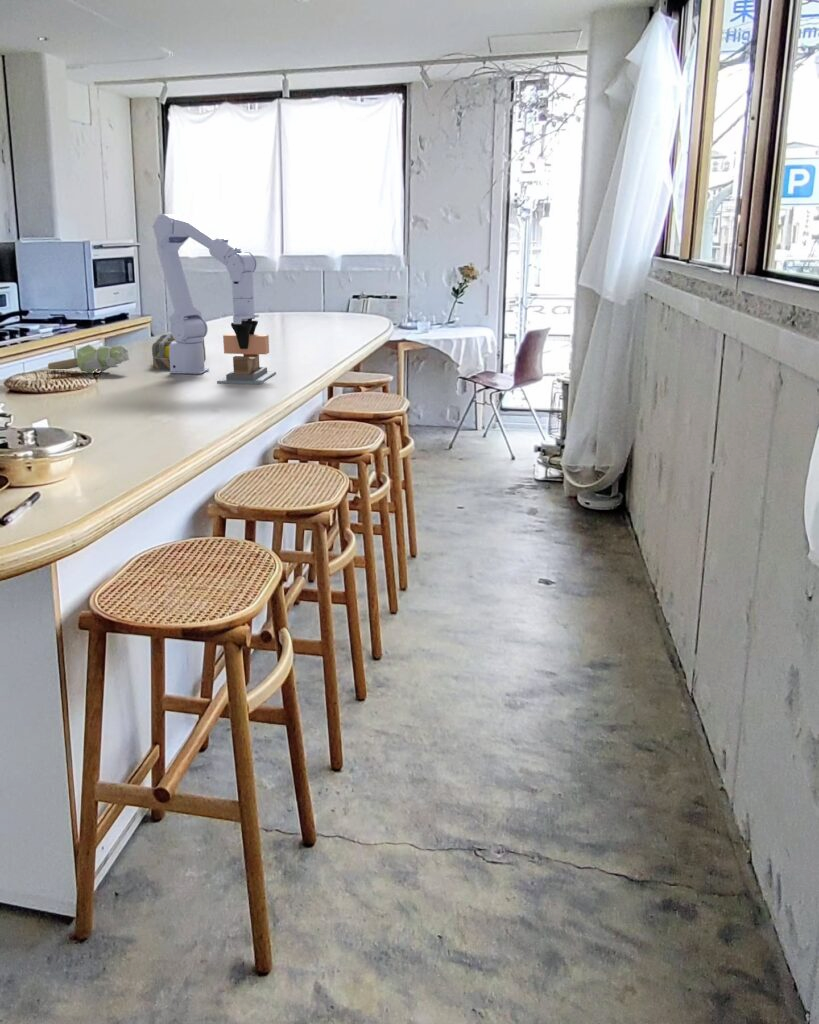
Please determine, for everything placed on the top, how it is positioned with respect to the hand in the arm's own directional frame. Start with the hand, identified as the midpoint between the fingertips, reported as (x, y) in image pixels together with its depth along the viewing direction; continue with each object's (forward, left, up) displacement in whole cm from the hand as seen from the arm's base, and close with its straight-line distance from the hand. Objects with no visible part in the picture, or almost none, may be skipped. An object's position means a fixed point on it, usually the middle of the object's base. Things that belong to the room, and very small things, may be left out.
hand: (245, 347), depth 236 cm
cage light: (-29, +26, -9) cm, 40 cm away
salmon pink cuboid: (0, 0, -2) cm, 2 cm away
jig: (0, 0, -9) cm, 9 cm away
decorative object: (-48, +2, -9) cm, 49 cm away
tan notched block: (0, 0, -8) cm, 8 cm away
